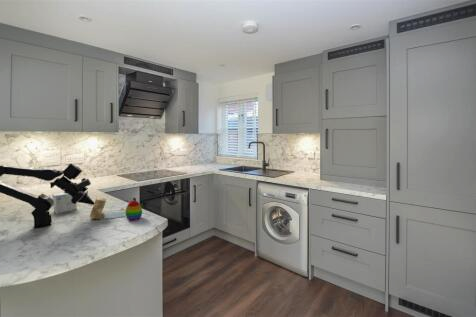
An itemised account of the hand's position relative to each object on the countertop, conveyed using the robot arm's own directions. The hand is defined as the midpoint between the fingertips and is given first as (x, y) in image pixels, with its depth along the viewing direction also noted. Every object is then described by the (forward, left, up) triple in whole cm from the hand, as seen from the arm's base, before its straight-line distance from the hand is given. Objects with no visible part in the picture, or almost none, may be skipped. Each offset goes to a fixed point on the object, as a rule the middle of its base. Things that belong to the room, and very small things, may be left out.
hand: (93, 203), depth 135 cm
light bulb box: (-10, +30, -8) cm, 33 cm away
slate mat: (+9, -2, -8) cm, 12 cm away
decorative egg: (+16, -16, -8) cm, 24 cm away
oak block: (0, 0, -7) cm, 7 cm away
